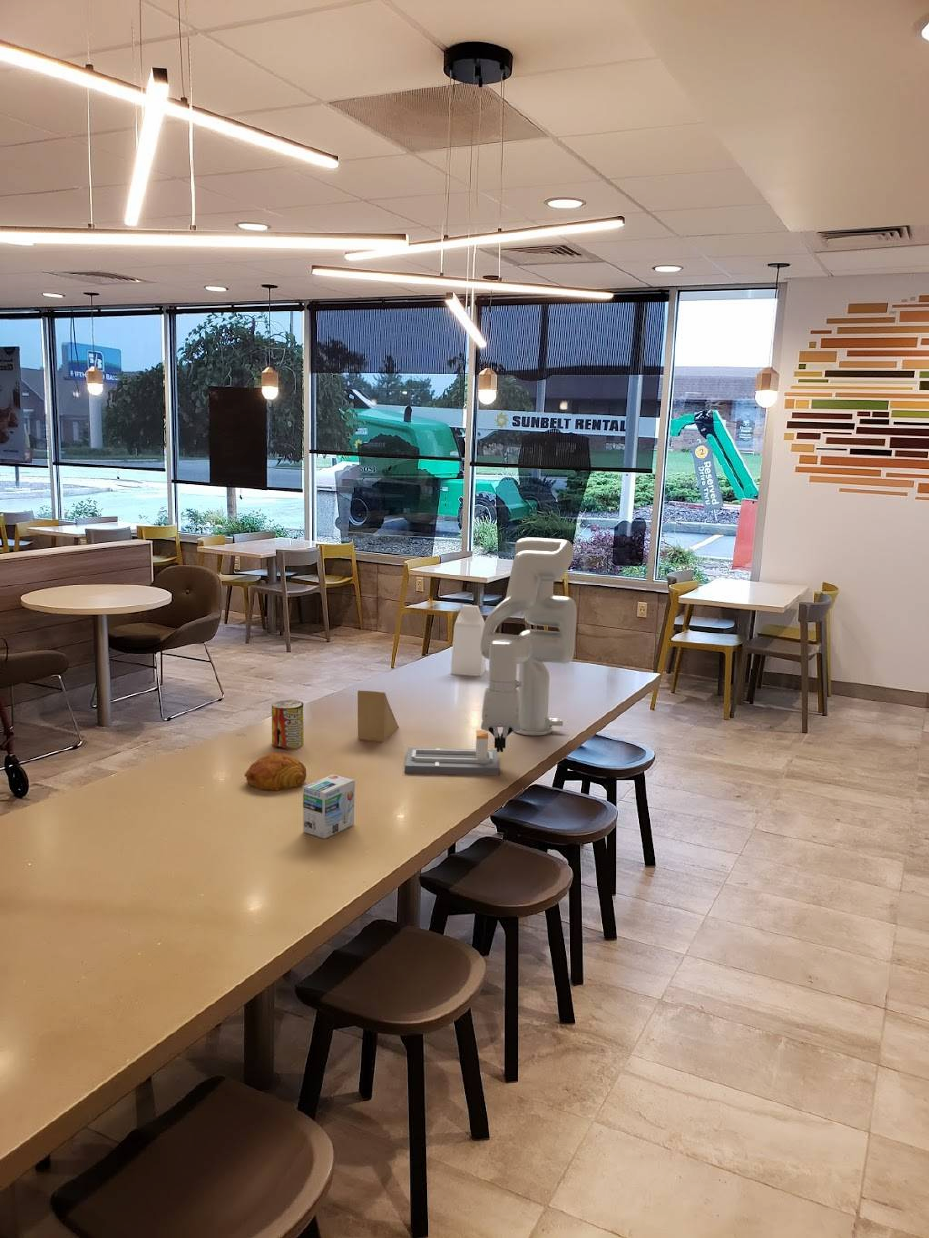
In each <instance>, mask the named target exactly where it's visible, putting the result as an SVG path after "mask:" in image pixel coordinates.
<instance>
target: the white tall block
mask: <svg viewBox="0 0 929 1238" xmlns="http://www.w3.org/2000/svg"><path fill="white" fill-rule="evenodd" d="M484 624H485V620H484V618H483V615H482V613H481V609H480V607H479V606H478V605H469V604H468V605H466V604H463V605H462V606H461V608H460V611H459V612H458V614H457V617H456V620H455V622H454V626H453V634H452V635H453V638H452V648H451V649H452V650H451V663H450V664H451V665H450V675H458V676H459V675H460V676H462V675H463V676H475V677H483V674H485V671H486V670H487V665H486V664H487V663H486V662H487V659H486V658H484V657H483V656H482V654H481V650H480V644H481V638H482V633H483V628H484Z"/></svg>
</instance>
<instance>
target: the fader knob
mask: <svg viewBox="0 0 929 1238" xmlns="http://www.w3.org/2000/svg"><path fill="white" fill-rule="evenodd" d="M475 735H476V739H475V740H476V741H475V750H476V759H487V753H488V750H489V749H488V748H489V747H488V746H489V745H488V744H489V731H486V730H482V729H480V730H479V729H477V730H476V734H475Z"/></svg>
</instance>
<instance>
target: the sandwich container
mask: <svg viewBox="0 0 929 1238" xmlns="http://www.w3.org/2000/svg"><path fill="white" fill-rule="evenodd" d="M399 728H400V727H399V725H398V723H397V720H396V718H395V716H394V713H393V711H392V708H391V706H390V703H389V700H388V697H387V694H386V692H382V691H376V690H375V691H374V690H357V739H358V740H367V741H376V742H377V741H378V742H385V741H386V740H387V739H388V738H390V737H391V736H392V735H393V734H394V733H395V732H396V731H397V730H398V729H399Z"/></svg>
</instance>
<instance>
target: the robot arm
mask: <svg viewBox="0 0 929 1238" xmlns="http://www.w3.org/2000/svg"><path fill="white" fill-rule="evenodd" d="M514 545H515V546H514V548H515V549H514V550H515V556H514V557H513V560H512V566H511V571H510V574H509V580H508V584H507V585H508V586H507V590H506V595H505V598H504V599H503V600H502V601H501V602H499V603H498V604H497V605H496V606H495V607H494V608H493V609H492V610H491V611H490V613H489V614H488V616H487V617H486V620H484V622H485V624H484V628H483V633H482V638H481V644H480V650H481V654H482V656H483V657H484V658H486V660H488V684H487V685H488V687H487V688H485V690H484V694H483V700H482V709H481V710H482V711H481V720H482V722H481V725H480V730H486V731H488V733H490V734H491V735H492V736H493V738H494V741H493V743H494V749H496V750H497V753H499V752H500V753H503V752H504V749H506V746H507V745H506V742H507V738H508V736H509V735H510V734H511V733H512V732H515V733H517V734H520V735H524V736H535V737H536V736H545V735H549V734H551V733H552V732H553V726H554V727H563V726H564V725H563V724H564V720H563V719H559V718H557V717H556V718H551V717H550V716H549V702H550V701H549V698H550V697H549V696H550V682H551V681H550V679H551V678H550V677H551V676H550V673H549V670H548V669H547V667H546V665H545V664H544V663H551V664H552V663H553V664H564V665H565V664H569V663H570V662H572V661H573V658H574V655H575V648H576V647H575V645H576V633H577V632H576V631H577V628H576V627H577V616H578V615H577V611H578V610H577V605H576V604H577V603H576V602H575V600H574V599H573V598H571V597H570V596H566V595H565V596H564V595H556V594H555V595H554V584H555V583H554V582H558V581H559V582H560V580H562V578H563V576H564V575H565V574H566V573H567V571H568V570H569V567H570V566H571V564H572V562H573V559H574V546H573V544H572V542H570V541H569V540H568V539H561V538H547V537H546V538H545V537H522V538H519V539H518V540H517V541H516V543H515V544H514ZM521 613H523V618H524V621H525V622H526V623H527V624H530V625H532V626H533V625H534V626H541V627H552V628H557V629H558V630H559V631H553V630H544V629H533V628H531V629H525V630H523V631H521V632H520V633H519V634H510V633H509V634H508V633H500V632H496V631H497V628H498V627H499V626H500V624H501V623H502V622H504V621H505V620H506V619H507V618H510V617H513V616H515V615H517V614H521ZM517 672H518V680H517ZM498 728H502V733H501V734H500V733H499V729H498Z"/></svg>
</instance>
